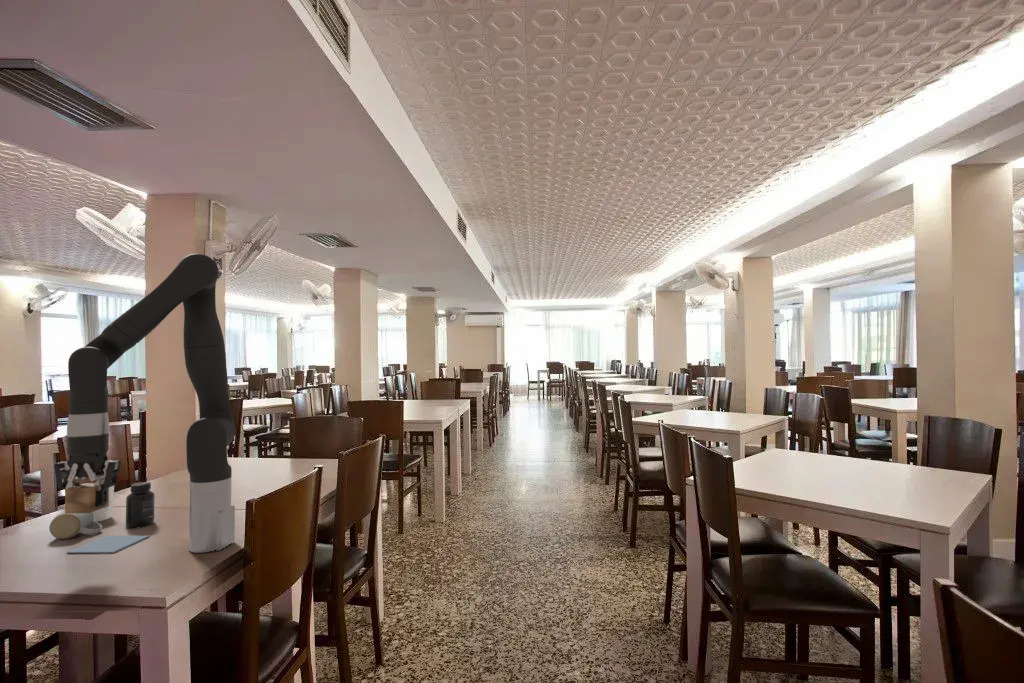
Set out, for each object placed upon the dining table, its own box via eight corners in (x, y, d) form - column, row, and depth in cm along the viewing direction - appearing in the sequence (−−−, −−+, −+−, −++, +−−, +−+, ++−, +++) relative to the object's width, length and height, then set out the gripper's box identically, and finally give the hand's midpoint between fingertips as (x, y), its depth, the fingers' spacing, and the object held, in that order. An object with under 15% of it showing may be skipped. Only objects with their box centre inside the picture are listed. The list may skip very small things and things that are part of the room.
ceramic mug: (46, 542, 136) (47, 513, 136) (61, 533, 144) (62, 505, 144) (94, 537, 140) (95, 509, 140) (106, 528, 147) (107, 502, 148)
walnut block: (108, 506, 120) (108, 482, 120) (89, 512, 114) (89, 488, 115) (85, 506, 120) (85, 483, 120) (64, 513, 114) (65, 488, 115)
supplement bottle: (154, 519, 155) (155, 480, 155) (153, 525, 149) (154, 484, 149) (126, 524, 151) (127, 483, 152) (124, 530, 145) (125, 487, 146)
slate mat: (149, 537, 139) (149, 535, 139) (113, 553, 127) (113, 551, 127) (106, 537, 139) (106, 535, 139) (66, 553, 127) (66, 552, 127)
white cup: (99, 523, 152) (100, 489, 153) (73, 523, 152) (74, 489, 153) (120, 515, 160) (120, 483, 161) (95, 515, 160) (96, 483, 161)
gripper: (131, 430, 122) (130, 501, 121) (71, 431, 122) (70, 502, 121) (106, 434, 114) (105, 510, 113) (42, 435, 114) (41, 512, 114)
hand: (87, 506), depth 117 cm, fingers closed on walnut block, 5 cm apart
